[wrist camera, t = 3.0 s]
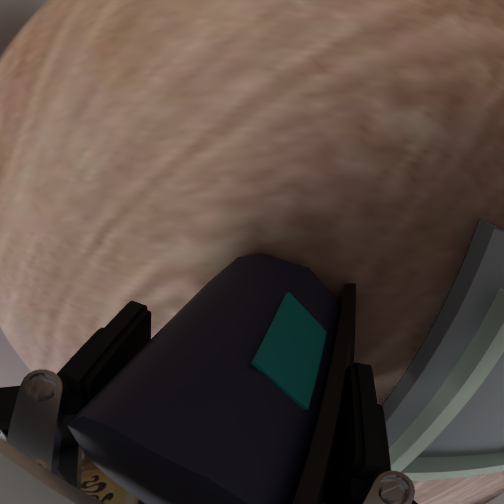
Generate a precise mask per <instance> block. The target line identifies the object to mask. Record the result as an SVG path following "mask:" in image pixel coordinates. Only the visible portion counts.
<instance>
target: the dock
mask: <svg viewBox="0 0 504 504" xmlns="http://www.w3.org/2000/svg"><path fill="white" fill-rule="evenodd" d="M382 407H383V410H384V416H385V423H386V430H387V437H388V446H389V454H390V464H391V471H398V472H402V473H403V474H405V475H407V476H408V477H409V478H410V479H411V481H418V480H438V479H451V478H461V477H470V476H477V475H484V474H490V473H496V472H501V471H504V230H503V229H501V228H499V227H497V226H495V225H493V224H490V223H488V222H486V221H484V220H481V219H479V222H478V225H477V228H476V231H475V233H474V236H473V239H472V241H471V244H470V247H469V249H468V252H467V254H466V257H465V259H464V261H463V264H462V266H461V269H460V271H459V273H458V275H457V278H456V280H455V282H454V284H453V286H452V289H451V291H450V293H449V295H448V297H447V299H446V301H445V303H444V305H443V307H442V309H441V311H440V313H439V315H438V317H437V319H436V321H435V323H434V324H433V326H432V328H431V330H430V332H429V334H428V335H427V337H426V339H425V341H424V342H423V344H422V346H421V348H420V349H419V351H418V353H417V354H416V356H415V358H414V359H413V361H412V362H411V364H410V366H409V367H408V369H407V370H406V372H405V374H404V375H403V377H402V378H401V380H400V381H399V383H398V384H397V386H396V387H395V389H394V390H393V392H392V393H391V394H390V396H389V397H388V399H387V400H386V402H385V403H384V404H383V406H382Z"/></svg>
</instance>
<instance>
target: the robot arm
mask: <svg viewBox="0 0 504 504" xmlns="http://www.w3.org/2000/svg"><path fill="white" fill-rule="evenodd" d="M150 340H151V312H150V311H148V310H147V306H146V305H143V304H140V303H137V302H135V301H130V302H129V303H128V304H127V305H126V306H125V307H124V308H123V309H122V310H121V311H120V312H119V313H118V314H117V315H116V316H115V317H114V318H113V319H112V320H111V321H110V322H109V324H108V325H107V326H106V327H105V328H100V329H99V330H97V331H96V332H95V333H94V334H93V336H92V337H91V338H90V339H89V340H88V341H87V342H86V343H85V344H84V345H83V346H82V347H81V348H80V349H79V350H78V351H77V353H76V354H75V355H74V356H73V357H72V358H71V359H70V360H69V361H68V362H67V363H66V364H65V366H64V367H63V368H62V369H61V370H60V371H59V372H58V373H57V374H55V373H54V372H52V371H49V370H41V369H39V370H35V371H32V372H30V373H29V374H27V375H26V376H25V377H24V379H23V381H22V383H21V386H13V387H2V388H0V504H105V503H103V502H101V501H99V500H98V499H96V498H94V497H92V496H90V495H88V494H86V493H84V492H83V491H81V474H82V449H81V447H80V445H79V444H78V442H77V441H76V439H75V437H74V436H73V434H72V432H71V431H70V429H69V427H68V425H67V423H68V422H69V421H70V420H71V419H72V418H73V417H74V416H75V415H76V414H77V413H78V412H79V411H80V410H81V409H82V408H83V407H84V406H85V405H86V404H87V403H88V402H89V401H90V400H91V399H92V398H93V397H94V396H95V395H96V394H97V393H98V392H99V391H100V390H101V389H102V388H103V387H104V386H105V385H106V384H107V383H108V382H109V381H110V380H111V379H112V378H113V377H114V376H115V375H116V374H117V373H118V372H119V371H120V370H121V369H122V368H123V367H124V366H125V365H126V364H127V363H128V362H129V361H130V360H131V359H132V358H133V357H134V356H135V355H136V354H137V353H138V352H139V351H140V350H141V349H142V348H143V347H144V346H145V345H146V344H147V343H148V342H149V341H150ZM414 494H415V489H414V485H413V483H412V481H411V479H410V478H409V477H408V476H407V475H405V474H403V473H402V472H398V471H391V464H390V454H389V446H388V437H387V430H386V423H385V416H384V410H383V407H382V405H380V404H377V398H376V391H375V385H374V378H373V372H372V368H371V366H370V365H365V364H360V363H354V364H353V366H348V367H347V368H346V370H345V376H344V384H343V391H342V399H341V405H340V412H339V418H338V424H337V430H336V436H335V441H334V447H333V452H332V457H331V462H330V467H329V472H328V476H327V481H326V485H325V489H324V495H323V502H322V504H418V503H416V502H415V501H414V500H413V499H414Z"/></svg>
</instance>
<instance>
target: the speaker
mask: <svg viewBox="0 0 504 504" xmlns="http://www.w3.org/2000/svg"><path fill="white" fill-rule="evenodd" d="M355 312H356V284H345V288H344V295H343V301H342V307H341V309H340V304H339V303H338V302H337V301H336V299H335V298H334V297H333V296H332V295H331V293H330V292H329V291H328V290H327V289H326V288H325V286H324V285H323V284H322V283H321V282H320V280H319V279H318V278H317V277H316V276H315V275H314V273H313V272H312V271H311V270H310V269H309V268H307V267H304V266H301V265H297V264H294V263H291V262H287V261H284V260H281V259H277V258H274V257H271V256H267V255H264V254H255V255H249V256H243V257H238V258H237V259H236V260H234V261H233V262H232V263H231V264H230V265H228V266H227V267H226V268H225V269H224V270H223V271H221V272H220V273H219V274H218V275H217V276H215V277H214V278H213V279H212V280H211V281H210V282H208V283H207V284H206V285H205V286H204V287H203V288H202V289H201V290H200V291H199V292H198V293H197V294H196V295H195V296H194V297H193V298H192V299H191V300H190V301H189V302H188V303H187V304H186V305H185V306H184V307H183V308H182V309H181V310H180V311H179V312H178V313H177V314H176V315H175V316H174V317H173V318H172V319H171V320H170V321H169V322H168V323H167V324H166V325H165V326H164V327H163V328H162V329H161V330H160V331H159V332H158V333H157V334H156V335H155V336H154V337H153V338H152V339H151V340H150V341H149V342H148V343H147V344H146V345H145V346H144V347H143V348H142V349H141V350H140V351H139V352H138V353H137V354H136V355H135V356H134V357H133V358H132V359H131V360H130V361H129V362H128V363H127V364H126V365H125V366H124V367H123V368H122V369H121V370H120V371H119V372H118V373H117V374H116V375H115V376H114V377H113V378H112V379H111V380H110V381H109V382H108V383H107V384H106V385H105V386H104V387H103V388H102V389H101V390H100V391H99V392H98V393H97V394H96V395H95V396H94V397H93V398H92V399H91V400H90V401H89V402H88V403H87V404H86V405H85V406H84V407H83V408H82V409H81V410H80V411H79V412H78V413H77V414H76V415H75V416H74V417H73V418H72V419H71V420H70V421H69V422H68V423H67V425H68V427H69V429H70V431H71V432H72V434H73V436H74V437H75V439H76V441H77V442H78V444H79V445H80V447H81V449H82V450H83V452H84V453H85V455H86V456H87V457H88V458H89V459H90V460H91V461H92V462H93V463H94V464H95V465H96V466H97V467H98V468H99V469H100V470H101V471H102V472H103V473H104V474H106V475H107V476H108V477H109V478H111V479H112V480H113V481H114V482H116V483H117V484H118V485H120V486H121V487H122V488H124V489H125V490H126V491H128V492H129V493H131V494H132V495H133V496H135V497H136V498H138V499H139V500H141V501H142V502H144V503H145V504H322V502H323V495H324V489H325V485H326V481H327V476H328V472H329V467H330V462H331V457H332V452H333V447H334V441H335V436H336V430H337V424H338V418H339V412H340V405H341V399H342V391H343V384H344V376H345V370H346V368H347V367H348V366H353V364H354V346H355Z"/></svg>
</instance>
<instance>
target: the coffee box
mask: <svg viewBox="0 0 504 504" xmlns="http://www.w3.org/2000/svg"><path fill="white" fill-rule="evenodd" d="M81 491H83V492H84V493H86V494H88V495H90V496H92V497H94V498H96V499H98V500H99V501H101V502H103V503H105V504H145V503H144V502H142V501H141V500H139V499H138V498H136V497H135V496H133V495H132V494H131V493H129V492H128V491H126V490H125V489H124V488H122V487H121V486H120V485H118V484H117V483H116V482H114V481H113V480H112V479H111V478H109V477H108V476H107V475H106V474H104V473H103V472H102V471H101V470H100V469H99V468H98V467H97V466H96V465H95V464H94V463H93V462H92V461H91V460H90V459H89V458H88V457H87V456H86V455H85V453H84V452H83V450H82V474H81Z"/></svg>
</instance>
